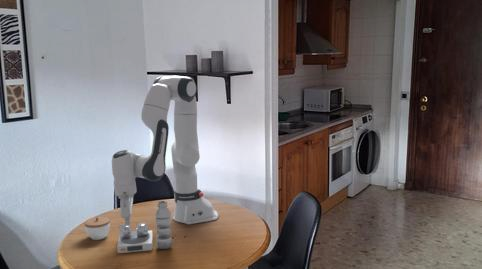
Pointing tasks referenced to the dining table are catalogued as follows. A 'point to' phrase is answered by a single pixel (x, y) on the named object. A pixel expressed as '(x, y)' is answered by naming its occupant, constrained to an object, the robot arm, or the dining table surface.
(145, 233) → the silver ball
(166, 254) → the dining table surface
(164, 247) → the plastic bottle
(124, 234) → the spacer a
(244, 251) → the dining table surface
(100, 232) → the lidded jar
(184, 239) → the dining table surface
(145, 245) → the kitchen scale
